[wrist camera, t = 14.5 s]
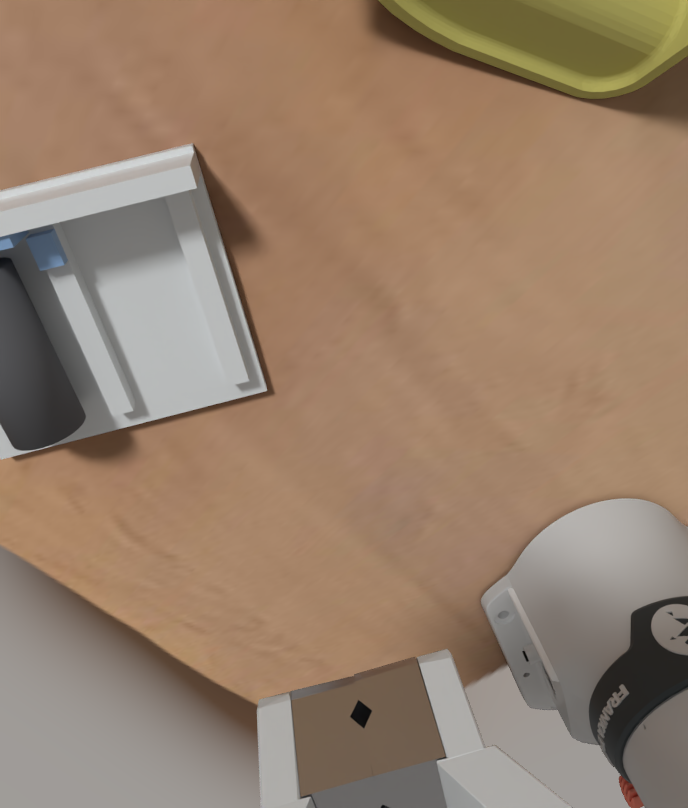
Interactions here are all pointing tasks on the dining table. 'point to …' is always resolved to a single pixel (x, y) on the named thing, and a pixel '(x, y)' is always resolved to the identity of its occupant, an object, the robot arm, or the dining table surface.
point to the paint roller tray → (132, 289)
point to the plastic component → (560, 38)
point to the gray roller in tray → (31, 373)
